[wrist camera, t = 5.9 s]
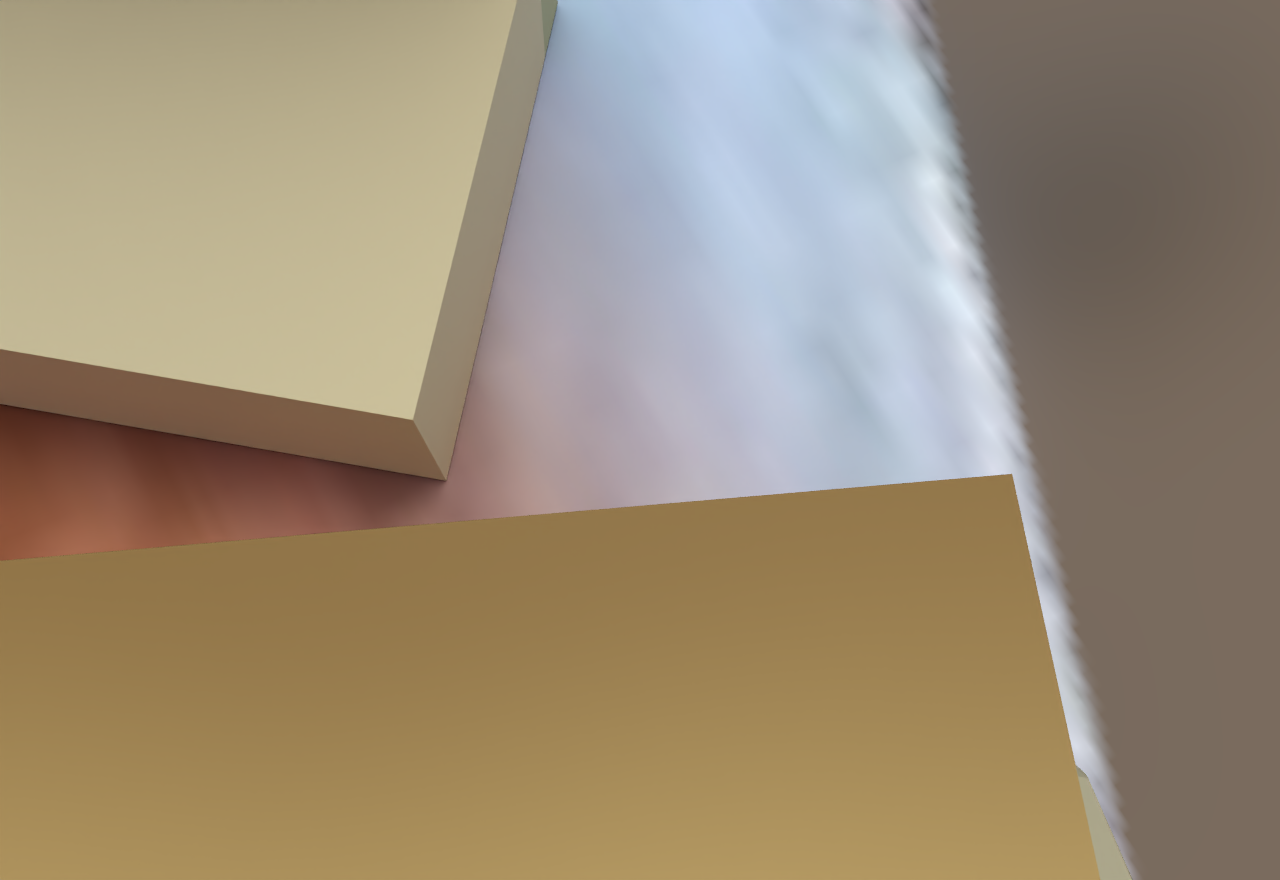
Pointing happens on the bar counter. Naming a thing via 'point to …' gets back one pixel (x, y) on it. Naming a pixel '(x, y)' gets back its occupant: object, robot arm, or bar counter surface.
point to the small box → (550, 700)
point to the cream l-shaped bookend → (260, 214)
